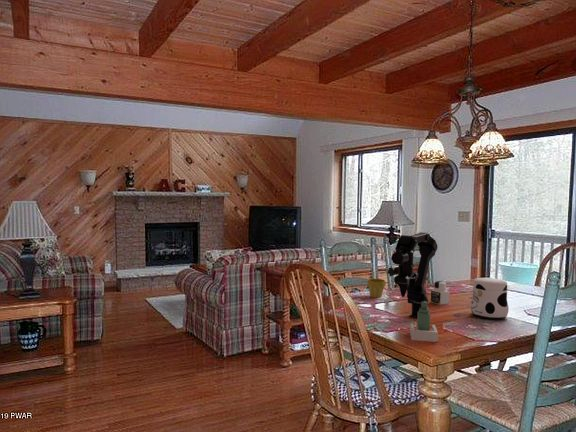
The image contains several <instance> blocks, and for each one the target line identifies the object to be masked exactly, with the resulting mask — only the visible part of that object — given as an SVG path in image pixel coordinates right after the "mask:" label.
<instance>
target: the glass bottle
mask: <svg viewBox="0 0 576 432" xmlns="http://www.w3.org/2000/svg"><path fill="white" fill-rule="evenodd" d="M416 318H417V320H416V324H417V325H416V330H426V331H431V312H430V308H428V305H427V302H426V301H422V302H421V308H419V311H418V316H417V317H416Z"/></svg>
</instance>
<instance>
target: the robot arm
mask: <svg viewBox="0 0 576 432" xmlns="http://www.w3.org/2000/svg"><path fill="white" fill-rule="evenodd" d="M417 246H418V251H419V254H420V257H419V263H418V266H417V269H416V271H414V267H415V263H414V252H415V248H416V247H417ZM394 249H395V252H393V253H392V254H391V261H392V263H393V264H394V265H397V266H396V267H394V266H391V267H388V270H387V275H389V277H392V276H395V277H393V282H394V283H395V284H396V285H397V286H398V288H399V291H400V295H401V297H402V298H404V297H405V295H406V299H407V303H408V304H411V313H410V314H409V317H412V318H417V316H418V311H419V308H421V302H422V301H426V302H427V306H428V305H429V299H428V297H427V291H426V288H425V284H426V278H427V276H428V275H427V274H428V271H429V266H430V263H431V259H432V258H433V257H434V256H436V252H437V250H438V244H437V241H436V239H434V238H433V236H431V235H430V233H428V232H421V231H420V232H418V233H416V234H412V235H404V234H402V235H400V236H399V238H398V240H397V242H396V245H395V248H394Z"/></svg>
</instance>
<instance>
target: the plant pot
mask: <svg viewBox="0 0 576 432" xmlns="http://www.w3.org/2000/svg"><path fill="white" fill-rule="evenodd" d="M366 283H367V286H368V291H369V296H370V298H376V299H379V298H382V297H383V292H384V289H385V287H386V280H385V279H381V278H368V279H367V282H366Z"/></svg>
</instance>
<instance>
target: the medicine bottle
mask: <svg viewBox="0 0 576 432" xmlns="http://www.w3.org/2000/svg"><path fill="white" fill-rule="evenodd" d="M430 303H433V304H436V305H439V306H443V305H449V304H450V290H447V283H446V282H445V281H443V280H442V281H441V280H438V281H435V282H434V289H431V290H430Z"/></svg>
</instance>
